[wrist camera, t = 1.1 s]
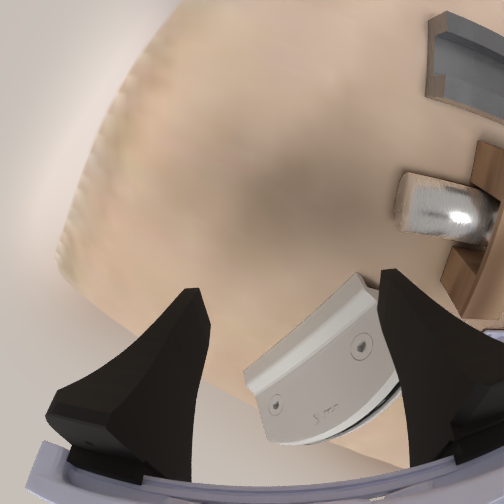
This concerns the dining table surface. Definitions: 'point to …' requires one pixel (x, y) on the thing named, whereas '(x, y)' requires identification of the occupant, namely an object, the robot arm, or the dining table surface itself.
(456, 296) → the beam
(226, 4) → the dining table surface
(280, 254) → the dining table surface
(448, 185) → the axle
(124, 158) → the dining table surface
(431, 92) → the v block
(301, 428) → the hinge
